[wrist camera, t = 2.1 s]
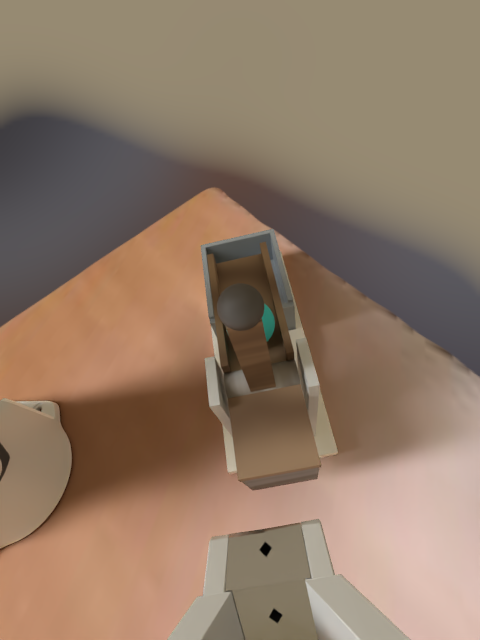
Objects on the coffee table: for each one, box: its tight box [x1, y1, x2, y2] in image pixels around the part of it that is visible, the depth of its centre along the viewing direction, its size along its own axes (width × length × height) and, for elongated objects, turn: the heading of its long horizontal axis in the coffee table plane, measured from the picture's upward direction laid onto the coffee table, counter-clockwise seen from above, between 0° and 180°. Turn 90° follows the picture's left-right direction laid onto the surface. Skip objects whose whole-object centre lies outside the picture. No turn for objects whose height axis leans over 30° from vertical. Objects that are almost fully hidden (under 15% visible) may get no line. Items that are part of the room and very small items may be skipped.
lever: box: [207, 242, 321, 490], centre depth 27 cm, size 20×6×19 cm, turn 9°
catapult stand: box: [205, 251, 338, 474], centre depth 39 cm, size 30×12×17 cm, turn 9°
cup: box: [201, 229, 296, 337], centre depth 47 cm, size 13×10×6 cm
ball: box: [226, 304, 275, 341], centre depth 28 cm, size 4×4×4 cm
